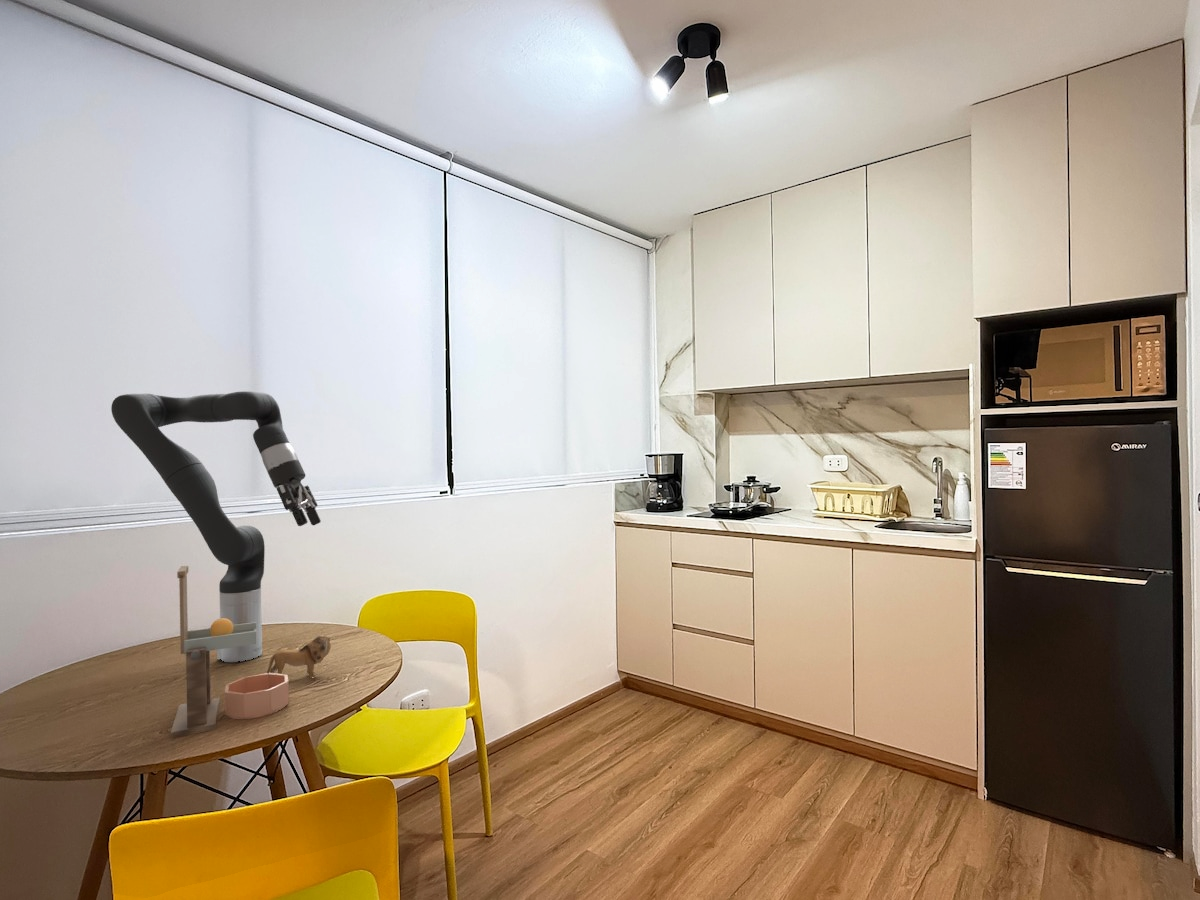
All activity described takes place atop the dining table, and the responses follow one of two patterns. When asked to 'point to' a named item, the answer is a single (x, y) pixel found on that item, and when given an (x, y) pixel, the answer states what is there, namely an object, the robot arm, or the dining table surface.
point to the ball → (221, 627)
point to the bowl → (256, 696)
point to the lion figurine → (302, 656)
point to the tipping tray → (203, 637)
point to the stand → (197, 697)
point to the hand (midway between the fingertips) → (310, 524)
